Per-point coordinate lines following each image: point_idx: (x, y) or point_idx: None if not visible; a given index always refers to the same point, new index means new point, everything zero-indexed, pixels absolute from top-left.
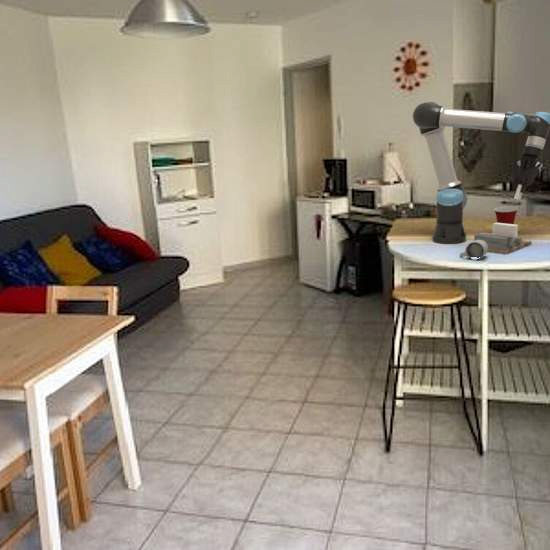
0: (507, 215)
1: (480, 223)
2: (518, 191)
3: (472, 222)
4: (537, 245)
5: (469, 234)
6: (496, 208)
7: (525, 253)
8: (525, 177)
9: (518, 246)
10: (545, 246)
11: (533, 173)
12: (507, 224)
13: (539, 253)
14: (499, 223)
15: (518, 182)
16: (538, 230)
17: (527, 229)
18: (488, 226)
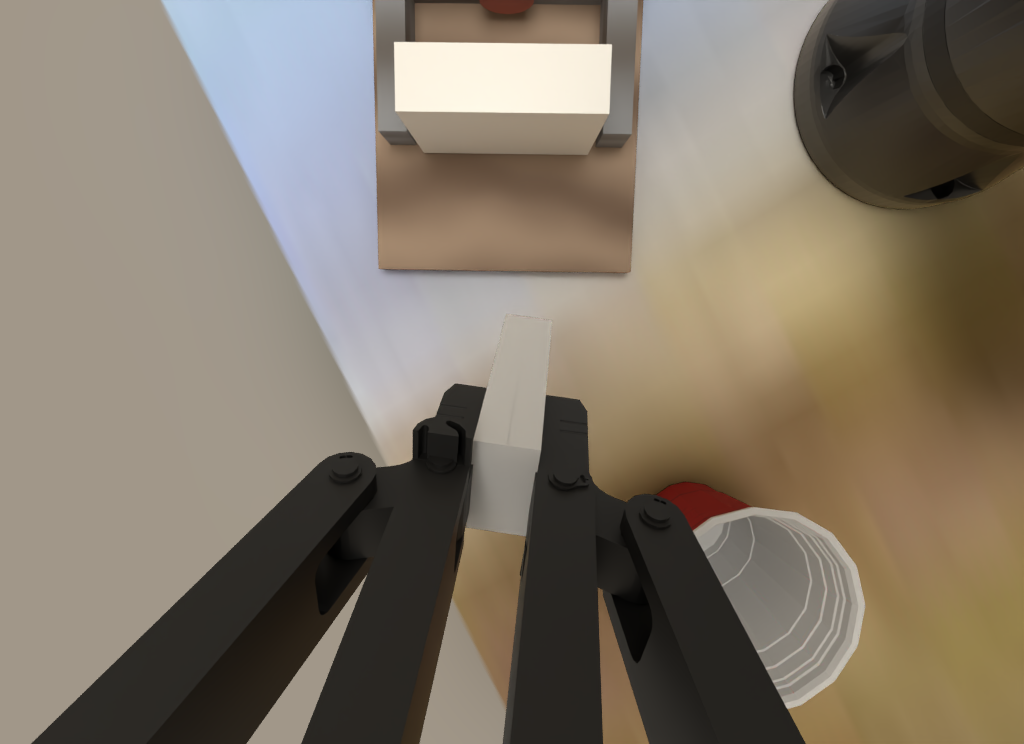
0: (692, 525)
1: (952, 697)
2: (507, 369)
3: (1016, 703)
4: (342, 265)
5: (868, 343)
6: (852, 616)
7: (296, 6)
8: (403, 573)
9: (374, 69)
10: (290, 265)
11: (134, 669)
12: (481, 77)
13: (228, 58)
14: (563, 85)
15: (557, 483)
16: None
17: (600, 663)
18: (862, 635)
